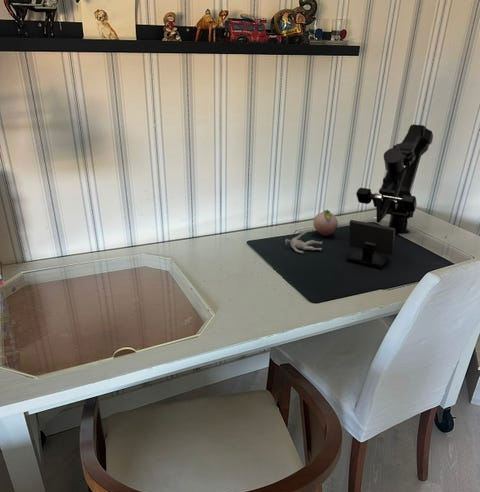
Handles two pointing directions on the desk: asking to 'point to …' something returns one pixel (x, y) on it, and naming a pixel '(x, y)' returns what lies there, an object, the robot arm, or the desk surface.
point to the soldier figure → (302, 244)
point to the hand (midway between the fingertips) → (378, 222)
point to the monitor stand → (368, 258)
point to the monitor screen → (372, 236)
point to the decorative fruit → (325, 223)
